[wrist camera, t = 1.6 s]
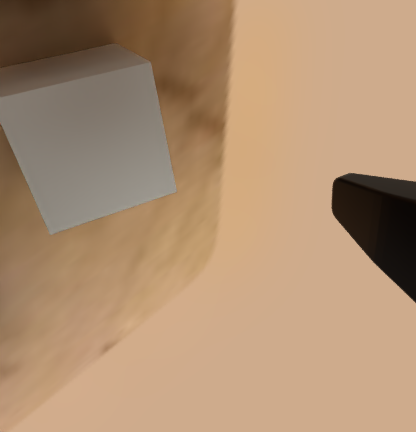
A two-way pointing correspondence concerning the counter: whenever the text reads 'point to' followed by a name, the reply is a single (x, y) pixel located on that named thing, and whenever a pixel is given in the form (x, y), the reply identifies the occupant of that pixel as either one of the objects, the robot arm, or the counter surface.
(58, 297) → the counter surface
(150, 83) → the cube
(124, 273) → the counter surface
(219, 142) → the counter surface
